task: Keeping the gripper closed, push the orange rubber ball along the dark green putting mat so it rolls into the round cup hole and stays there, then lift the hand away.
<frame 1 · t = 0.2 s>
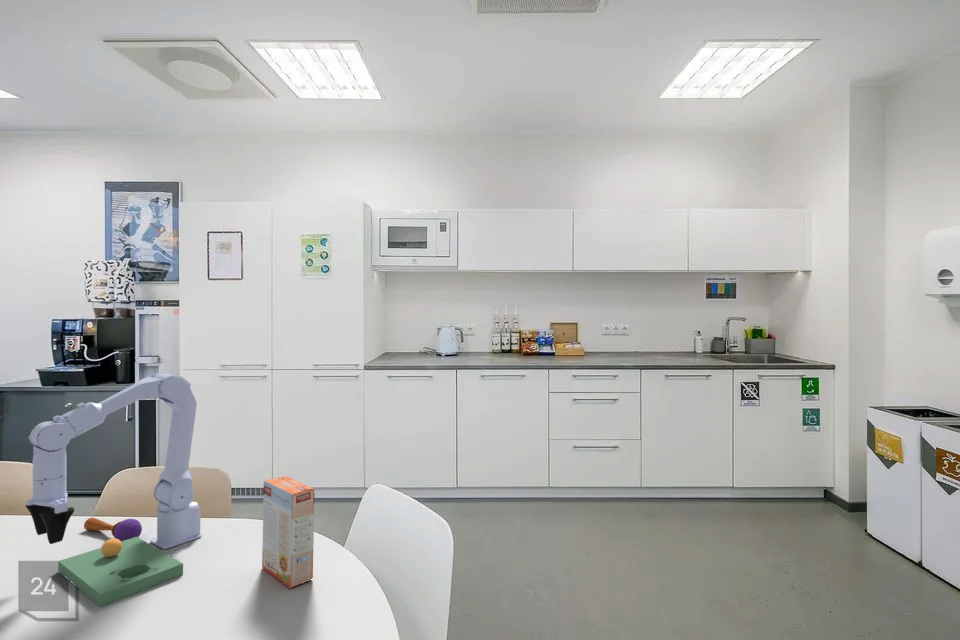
hand: (49, 537, 112), 10 cm above the table, tool pointing down, fingers open, 7 cm apart
putting mat: (120, 573, 116), on the table
kendama: (112, 537, 135), on the table
ball: (111, 547, 119), point 4 cm above the table, touching putting mat
cracker box: (287, 574, 117), on the table
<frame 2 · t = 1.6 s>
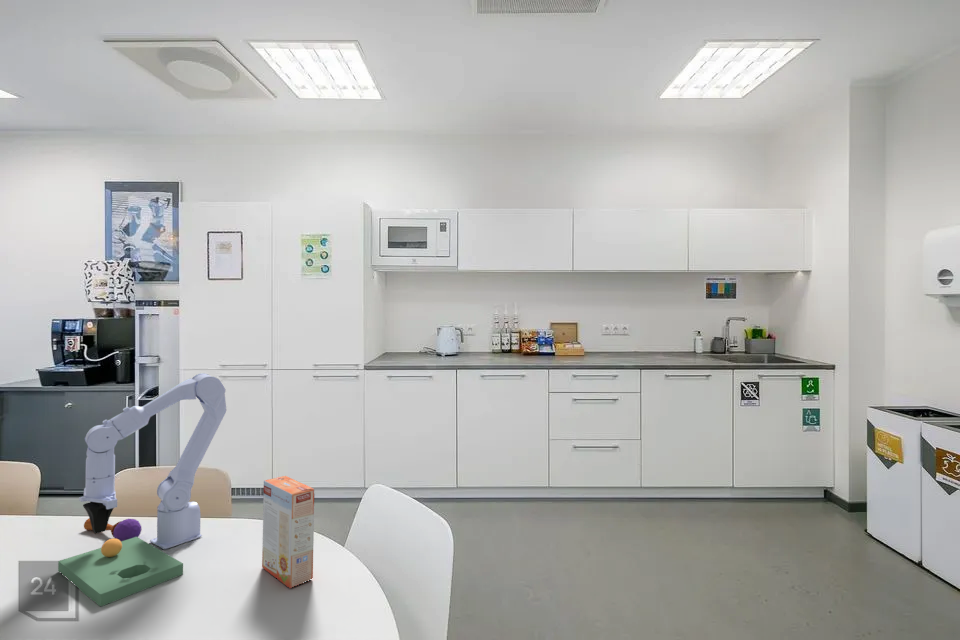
hand: (99, 531, 122), 7 cm above the table, tool pointing down, fingers closed
nothing on the table moved.
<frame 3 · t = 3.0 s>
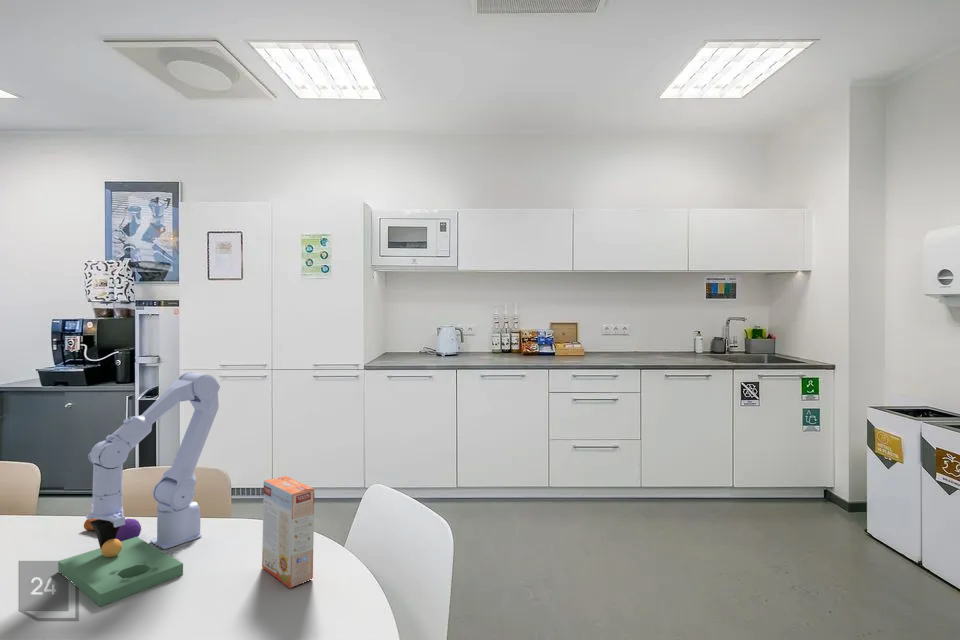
hand: (106, 549, 120), 3 cm above the table, tool pointing down, fingers closed, pressing on ball
ball: (111, 548, 119), point 4 cm above the table, touching gripper, putting mat
everything else where it was.
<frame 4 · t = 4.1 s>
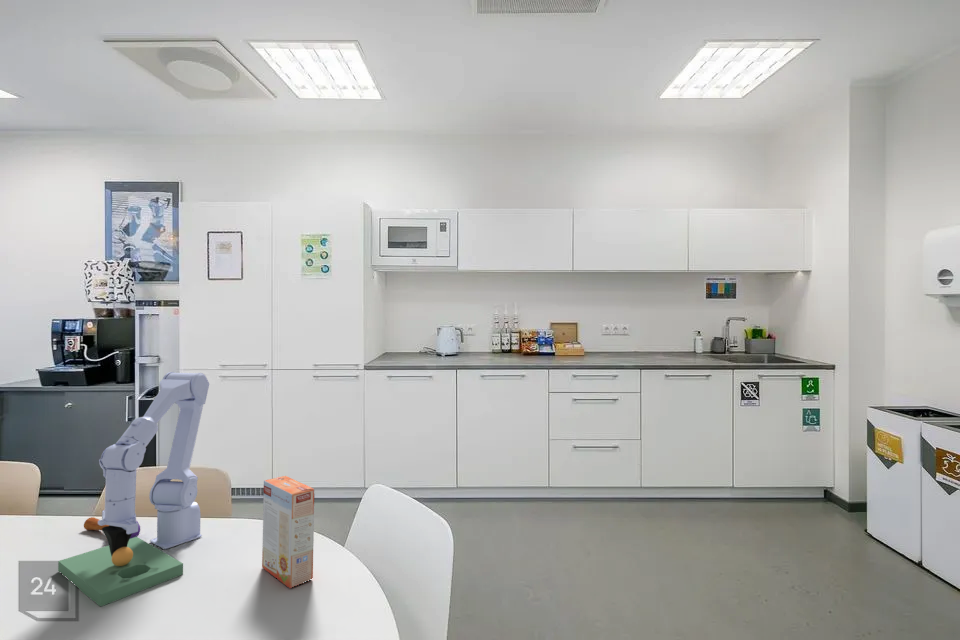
hand: (118, 557, 115), 4 cm above the table, tool pointing down, fingers closed, pressing on ball
ball: (122, 556, 115), point 4 cm above the table, tilted 161°, touching gripper, putting mat
everything else where it was.
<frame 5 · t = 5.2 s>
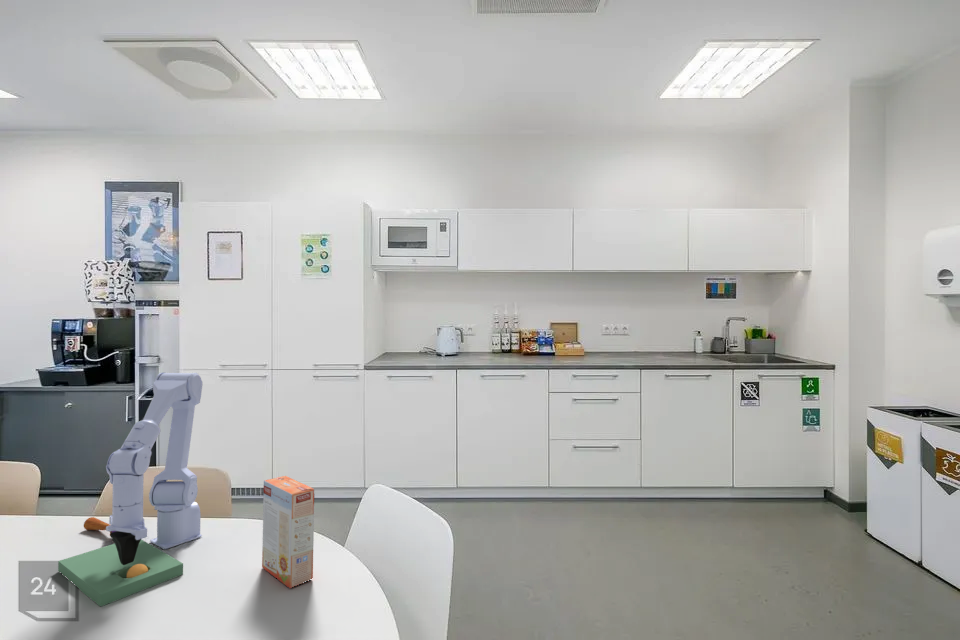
hand: (127, 562, 114), 3 cm above the table, tool pointing down, fingers closed
ball: (137, 573, 112), point 2 cm above the table, tilted 55°
everything else where it was.
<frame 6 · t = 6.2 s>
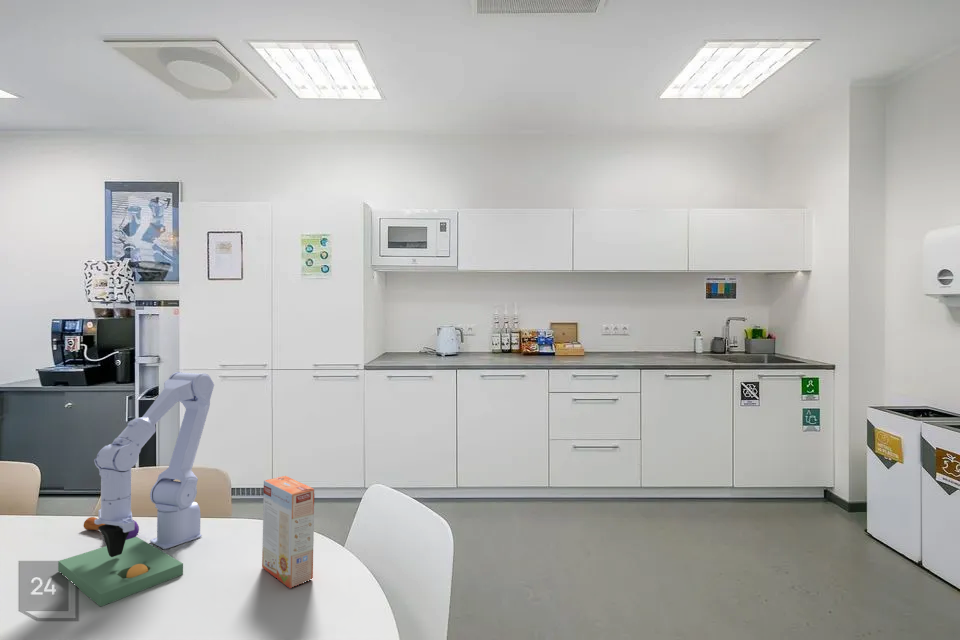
hand: (115, 554, 117), 3 cm above the table, tool pointing down, fingers closed
nothing on the table moved.
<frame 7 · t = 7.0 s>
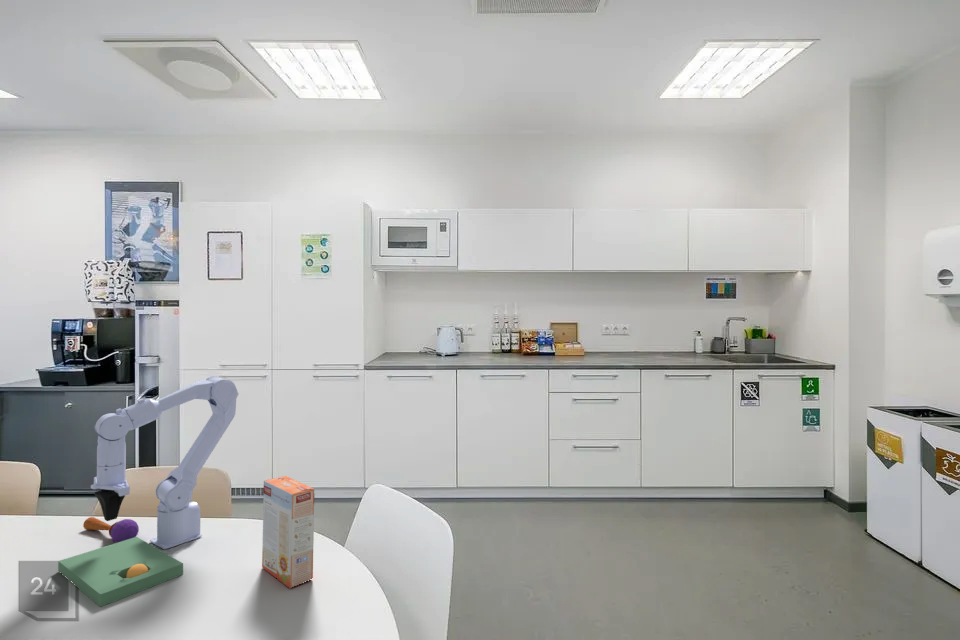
hand: (110, 519, 123), 9 cm above the table, tool pointing down, fingers closed
nothing on the table moved.
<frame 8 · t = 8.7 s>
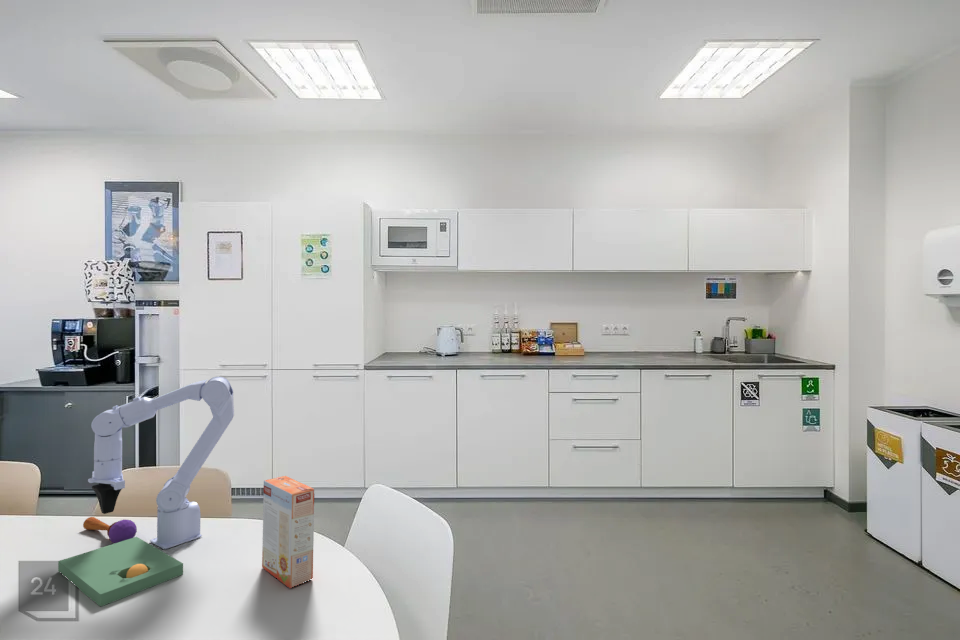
hand: (107, 512, 127), 9 cm above the table, tool pointing down, fingers closed
nothing on the table moved.
at the end: ball 0.8 cm from the target spot on the putting mat, point 2.0 cm above the putting mat's base; ball moved 12.9 cm from its start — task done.
